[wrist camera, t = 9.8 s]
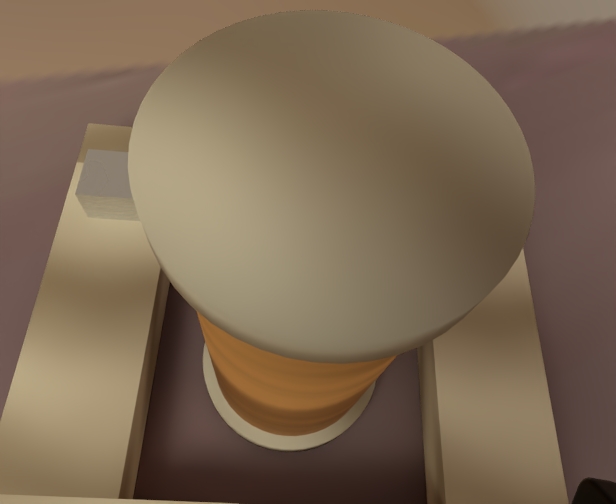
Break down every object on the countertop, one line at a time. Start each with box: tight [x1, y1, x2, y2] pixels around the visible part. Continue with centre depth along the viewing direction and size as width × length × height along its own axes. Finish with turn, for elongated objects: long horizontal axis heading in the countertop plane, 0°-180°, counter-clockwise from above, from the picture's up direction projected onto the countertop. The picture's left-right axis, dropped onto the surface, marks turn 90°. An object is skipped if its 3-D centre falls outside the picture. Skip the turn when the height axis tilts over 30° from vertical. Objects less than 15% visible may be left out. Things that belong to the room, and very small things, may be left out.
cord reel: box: [128, 10, 535, 452], centre depth 14 cm, size 6×6×13 cm
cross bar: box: [75, 149, 140, 221], centre depth 20 cm, size 2×16×2 cm, turn 88°
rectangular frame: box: [0, 123, 569, 504], centre depth 17 cm, size 24×18×2 cm
